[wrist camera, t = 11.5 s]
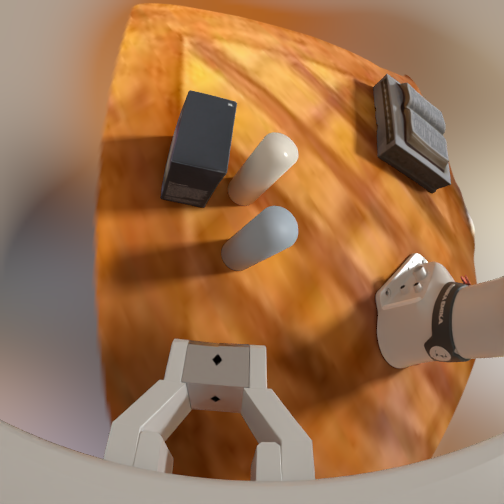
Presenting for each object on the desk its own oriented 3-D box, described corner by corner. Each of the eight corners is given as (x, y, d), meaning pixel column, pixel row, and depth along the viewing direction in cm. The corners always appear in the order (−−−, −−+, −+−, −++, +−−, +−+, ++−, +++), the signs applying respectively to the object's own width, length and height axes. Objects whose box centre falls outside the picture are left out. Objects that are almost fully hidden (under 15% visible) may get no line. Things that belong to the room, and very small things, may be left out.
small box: (172, 134, 42) (187, 86, 32) (215, 144, 44) (239, 100, 34) (157, 199, 39) (168, 159, 29) (205, 209, 41) (230, 173, 31)
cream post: (242, 172, 44) (279, 127, 34) (262, 194, 45) (305, 154, 34) (221, 188, 42) (254, 143, 32) (242, 211, 43) (282, 173, 32)
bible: (431, 133, 72) (456, 118, 64) (431, 206, 62) (463, 191, 54) (372, 80, 67) (396, 59, 58) (359, 144, 57) (392, 120, 48)
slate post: (237, 231, 42) (277, 197, 31) (259, 256, 42) (305, 230, 31) (214, 252, 40) (249, 223, 29) (237, 277, 40) (279, 258, 30)
